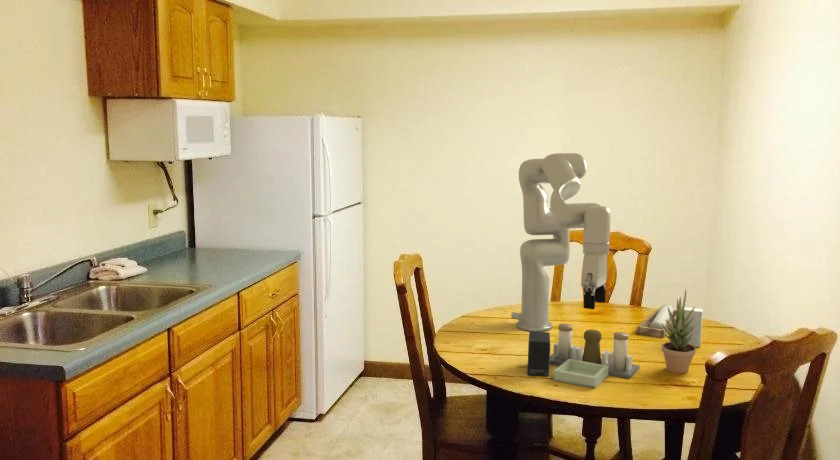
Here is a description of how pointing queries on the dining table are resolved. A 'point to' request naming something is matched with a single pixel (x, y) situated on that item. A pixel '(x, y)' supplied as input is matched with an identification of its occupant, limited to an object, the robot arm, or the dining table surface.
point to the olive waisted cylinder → (592, 347)
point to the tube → (662, 317)
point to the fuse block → (615, 360)
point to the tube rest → (646, 330)
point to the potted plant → (678, 341)
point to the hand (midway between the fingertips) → (594, 305)
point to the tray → (581, 373)
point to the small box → (538, 353)
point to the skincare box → (698, 326)
